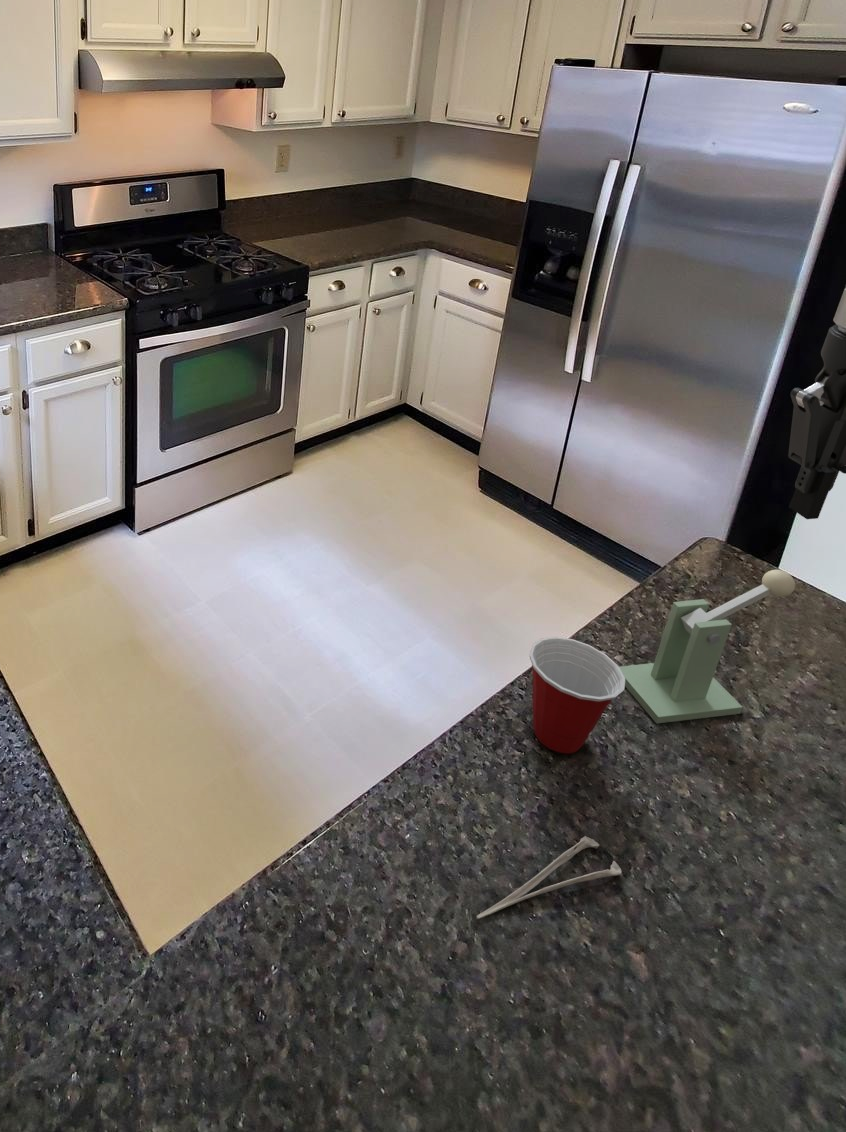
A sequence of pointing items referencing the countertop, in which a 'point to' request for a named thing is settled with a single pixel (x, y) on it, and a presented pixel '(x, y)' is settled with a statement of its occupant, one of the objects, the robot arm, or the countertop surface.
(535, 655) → the plastic cup
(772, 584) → the lever
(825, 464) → the robot arm
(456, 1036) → the countertop surface
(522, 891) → the lower jaw bone
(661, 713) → the bracket
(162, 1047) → the countertop surface
